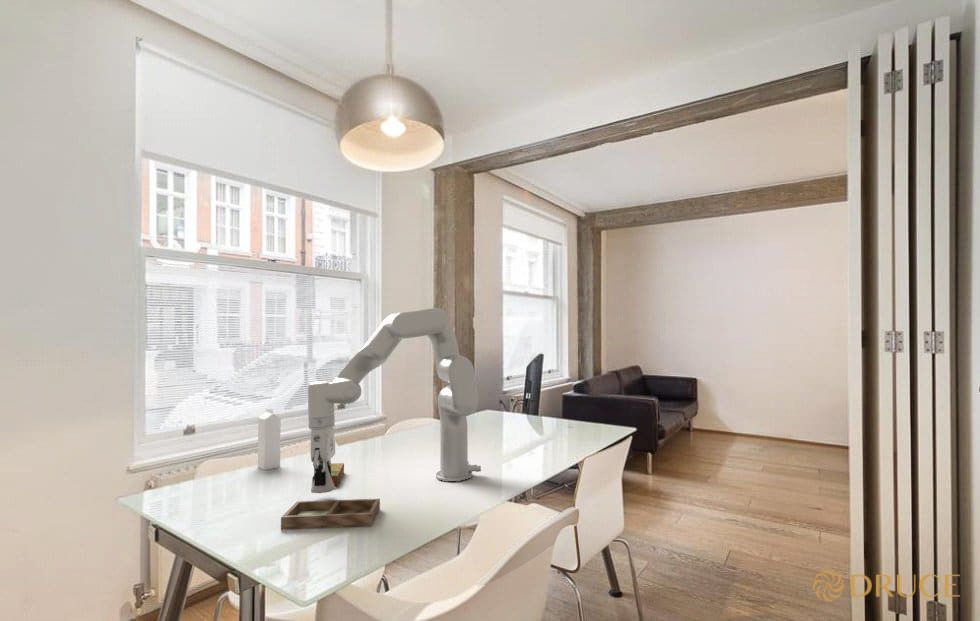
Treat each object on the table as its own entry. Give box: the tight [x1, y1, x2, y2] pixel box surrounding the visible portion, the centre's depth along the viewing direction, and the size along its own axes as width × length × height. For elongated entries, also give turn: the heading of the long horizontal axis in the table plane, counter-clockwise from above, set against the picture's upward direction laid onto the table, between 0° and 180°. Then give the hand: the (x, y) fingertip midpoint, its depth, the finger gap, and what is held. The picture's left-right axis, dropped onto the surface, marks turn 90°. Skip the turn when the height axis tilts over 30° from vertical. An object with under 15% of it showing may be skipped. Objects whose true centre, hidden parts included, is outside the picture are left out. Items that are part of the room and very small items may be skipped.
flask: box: [310, 459, 336, 494], centre depth 146 cm, size 7×7×10 cm
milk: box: [257, 408, 282, 471], centre depth 184 cm, size 6×6×22 cm
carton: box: [311, 462, 345, 488], centre depth 165 cm, size 8×16×4 cm, turn 10°
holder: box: [280, 498, 381, 530], centre depth 129 cm, size 23×12×3 cm, turn 93°
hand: (322, 481), depth 146 cm, fingers closed on flask, 4 cm apart
